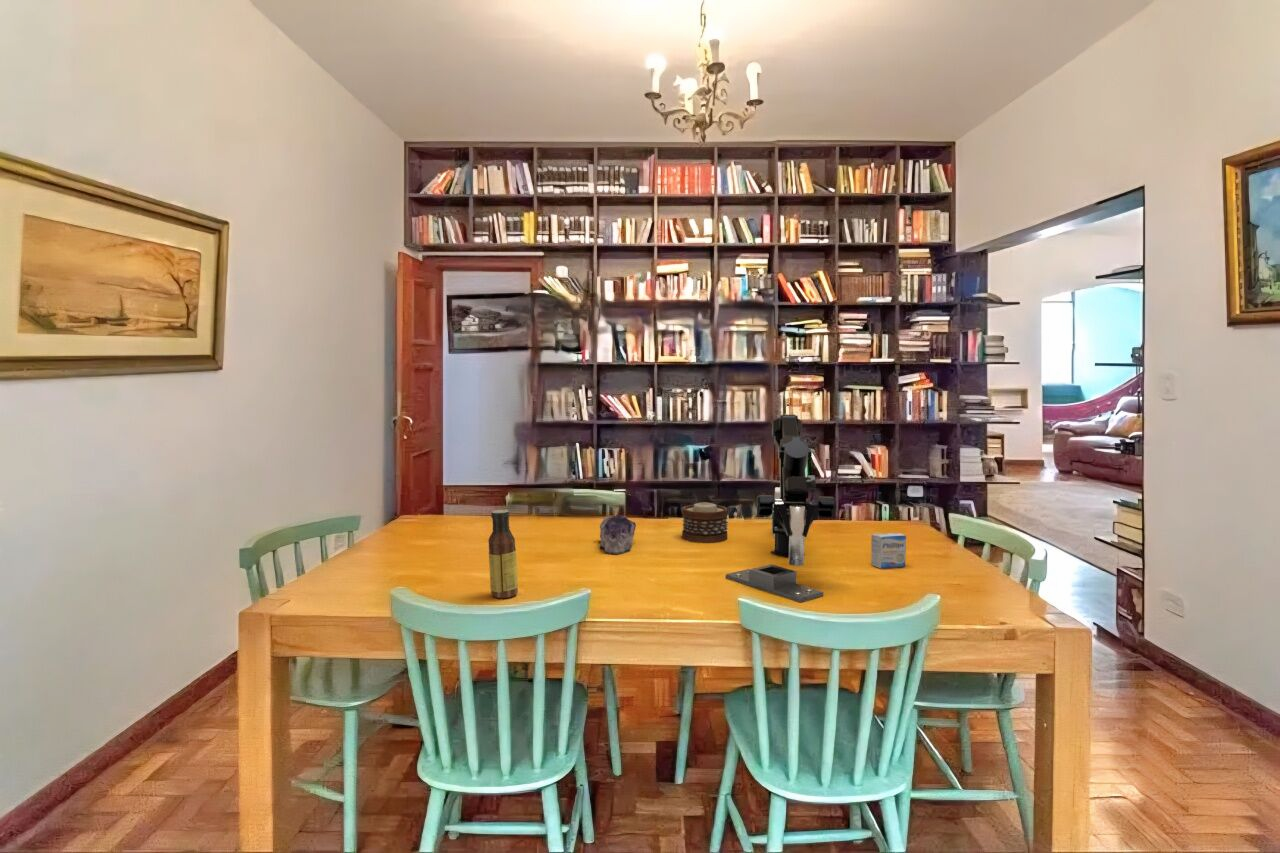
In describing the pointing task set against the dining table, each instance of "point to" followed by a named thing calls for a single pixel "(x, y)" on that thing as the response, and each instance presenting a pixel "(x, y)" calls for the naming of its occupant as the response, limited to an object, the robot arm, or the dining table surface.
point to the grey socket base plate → (775, 582)
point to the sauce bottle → (502, 557)
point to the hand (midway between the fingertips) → (797, 536)
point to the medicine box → (888, 550)
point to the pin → (796, 535)
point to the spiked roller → (704, 523)
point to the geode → (616, 534)
